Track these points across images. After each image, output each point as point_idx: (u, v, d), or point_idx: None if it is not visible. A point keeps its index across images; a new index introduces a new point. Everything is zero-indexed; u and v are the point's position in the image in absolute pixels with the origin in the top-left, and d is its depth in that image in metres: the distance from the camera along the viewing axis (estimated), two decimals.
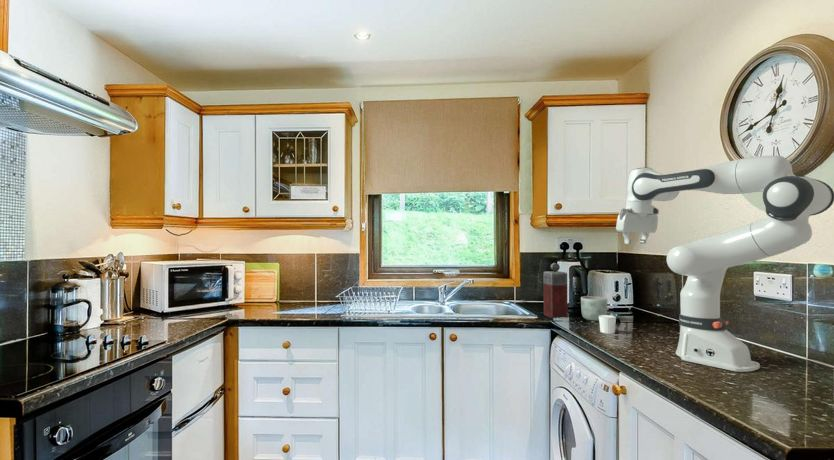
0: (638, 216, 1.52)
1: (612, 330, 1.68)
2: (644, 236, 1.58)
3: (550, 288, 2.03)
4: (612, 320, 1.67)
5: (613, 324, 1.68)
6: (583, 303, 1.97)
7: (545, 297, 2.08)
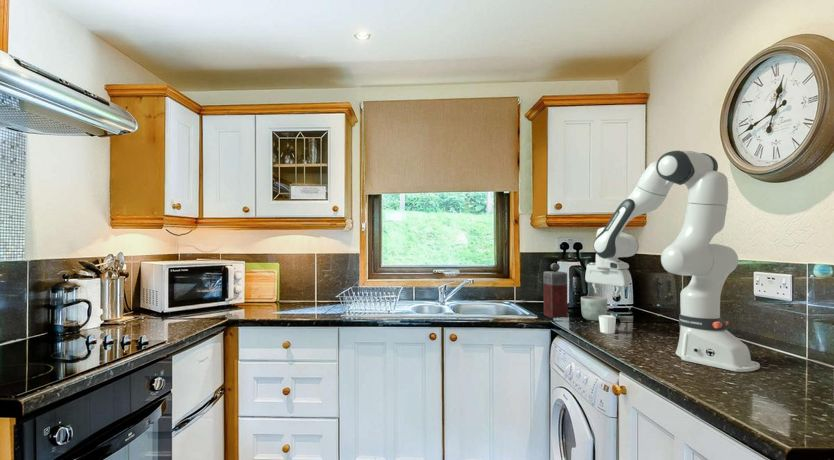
0: (598, 269, 1.72)
1: (612, 330, 1.68)
2: None
3: (550, 288, 2.03)
4: (612, 320, 1.67)
5: (613, 324, 1.68)
6: (583, 303, 1.97)
7: (545, 297, 2.08)
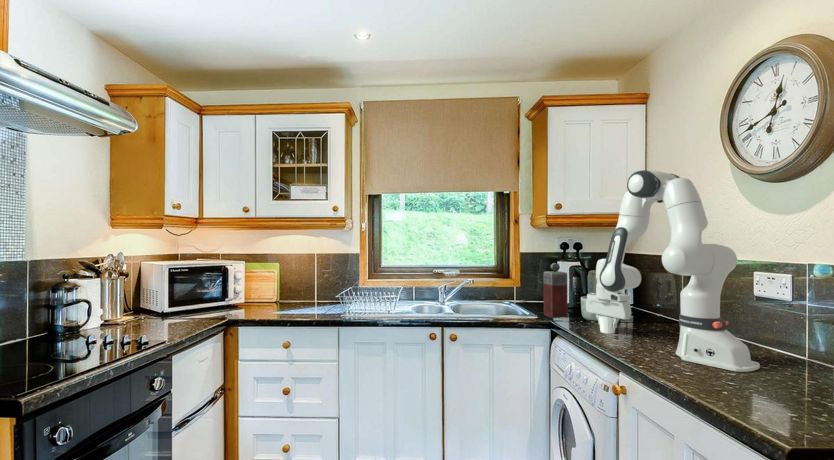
0: (599, 300, 1.72)
1: (612, 330, 1.68)
2: None
3: (550, 288, 2.03)
4: (612, 320, 1.67)
5: None
6: (583, 303, 1.97)
7: (545, 297, 2.08)
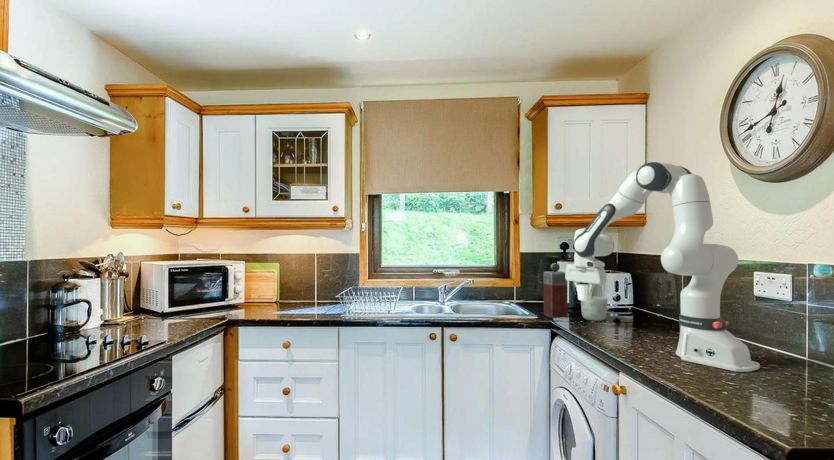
0: (577, 268, 1.83)
1: (588, 297, 1.79)
2: None
3: (550, 288, 2.03)
4: (588, 288, 1.78)
5: None
6: (583, 303, 1.97)
7: (545, 297, 2.08)
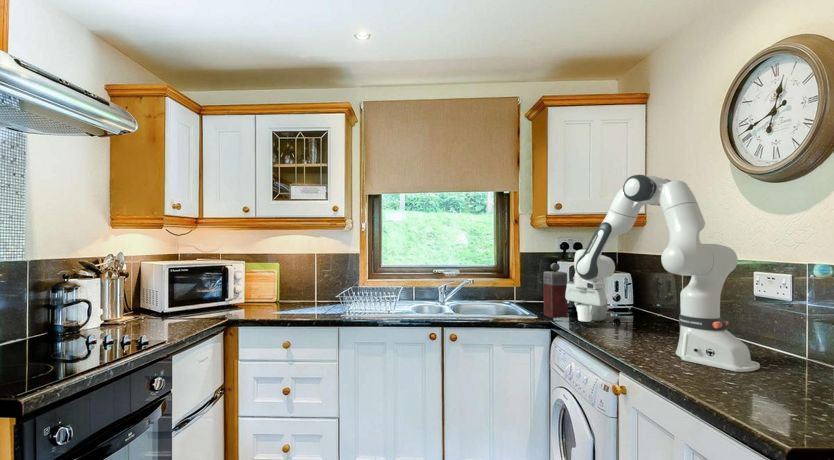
0: (577, 289, 1.83)
1: (588, 318, 1.79)
2: None
3: (550, 288, 2.03)
4: (588, 309, 1.78)
5: None
6: (583, 303, 1.97)
7: (545, 297, 2.08)
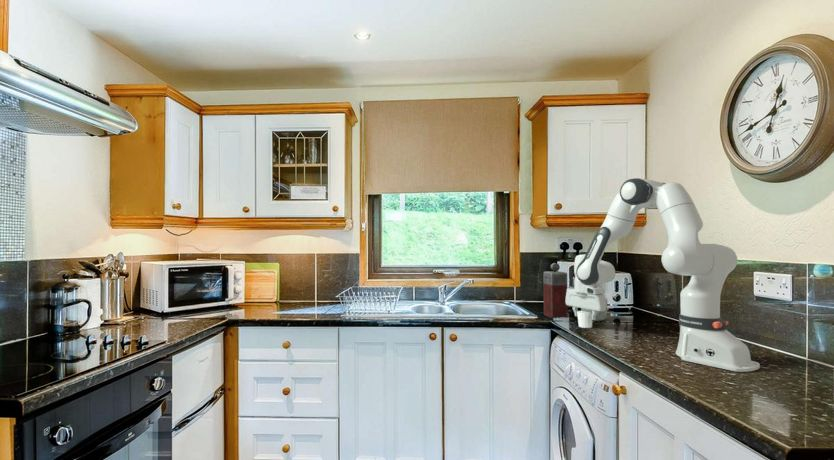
0: (577, 294, 1.83)
1: (589, 324, 1.78)
2: None
3: (550, 288, 2.03)
4: (589, 315, 1.78)
5: (590, 319, 1.78)
6: None
7: (545, 297, 2.08)
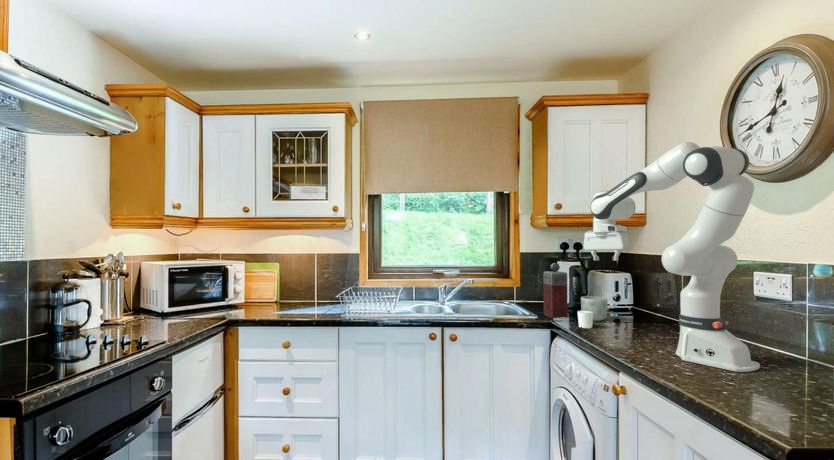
0: (596, 235, 1.71)
1: (589, 325, 1.78)
2: None
3: (550, 288, 2.03)
4: (589, 315, 1.78)
5: (590, 319, 1.78)
6: (583, 303, 1.97)
7: (545, 297, 2.08)
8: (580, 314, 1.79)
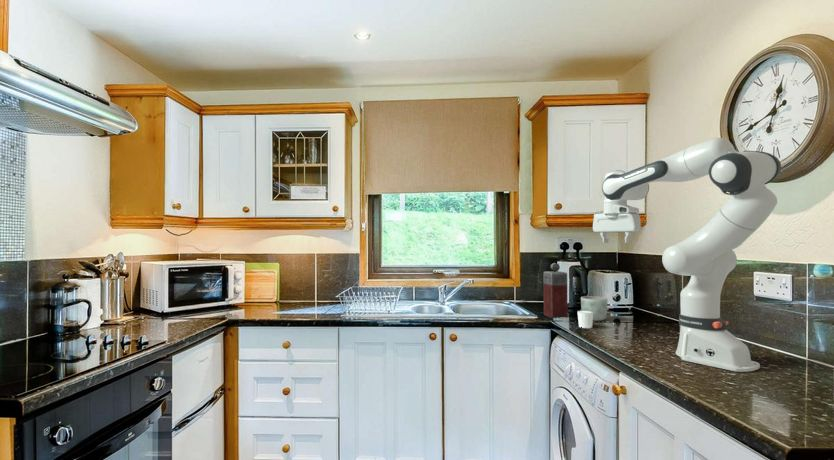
0: (607, 216, 1.65)
1: (589, 325, 1.78)
2: None
3: (550, 288, 2.03)
4: (589, 315, 1.78)
5: (590, 319, 1.78)
6: (583, 303, 1.97)
7: (545, 297, 2.08)
8: (580, 314, 1.79)
